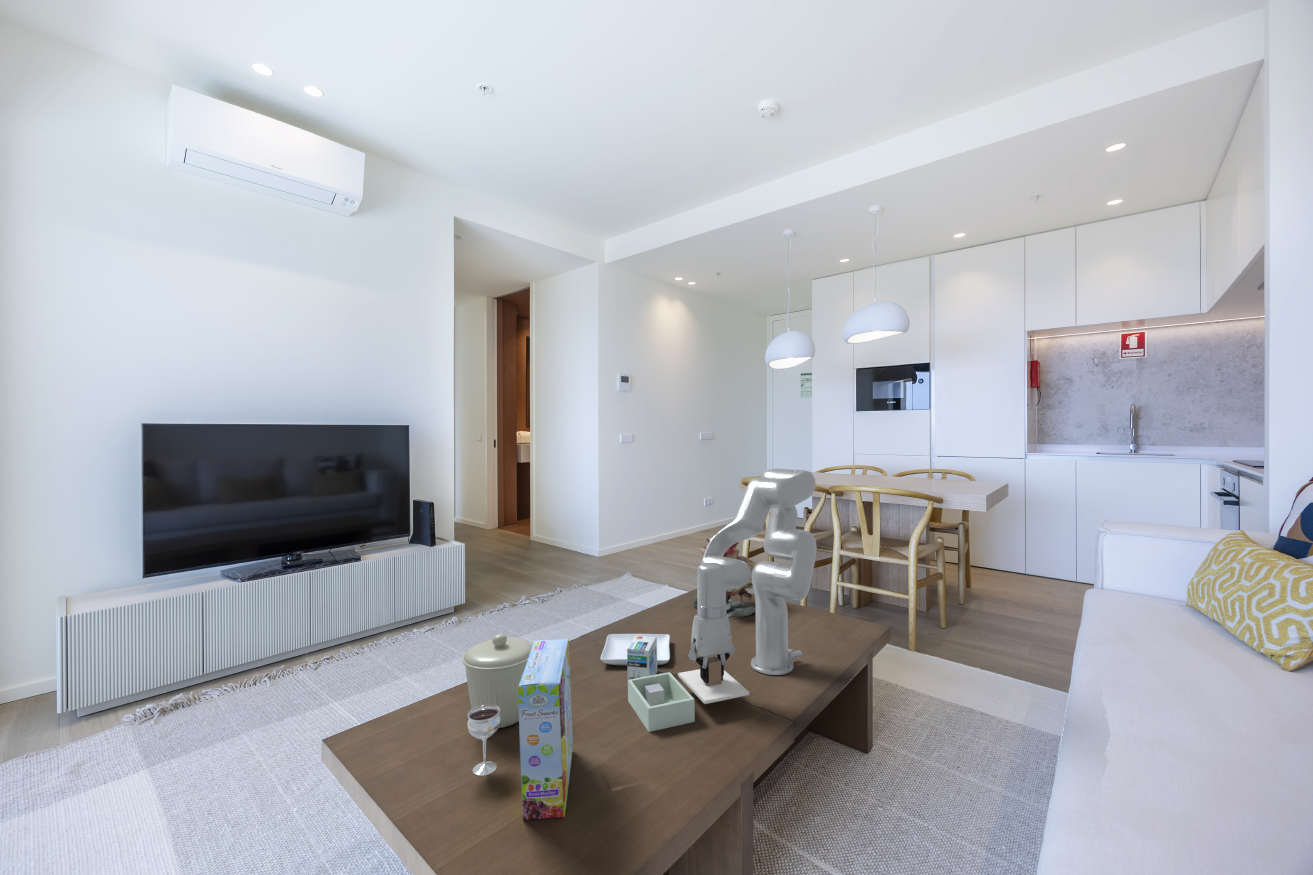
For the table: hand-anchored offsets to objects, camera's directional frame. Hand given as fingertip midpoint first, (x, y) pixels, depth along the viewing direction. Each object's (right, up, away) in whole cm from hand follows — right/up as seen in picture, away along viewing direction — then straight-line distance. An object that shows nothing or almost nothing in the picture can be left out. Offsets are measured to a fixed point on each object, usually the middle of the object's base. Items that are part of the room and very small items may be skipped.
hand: (712, 679), depth 142 cm
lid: (0, -2, 0) cm, 2 cm away
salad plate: (-21, -6, +31) cm, 38 cm away
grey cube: (-15, -6, -1) cm, 16 cm away
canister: (-54, -7, -6) cm, 55 cm away
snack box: (-37, -7, -32) cm, 49 cm away
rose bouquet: (+14, -5, +75) cm, 76 cm away
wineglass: (-52, -7, -27) cm, 59 cm away
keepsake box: (-14, -6, -5) cm, 16 cm away
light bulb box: (-19, -6, +13) cm, 24 cm away
